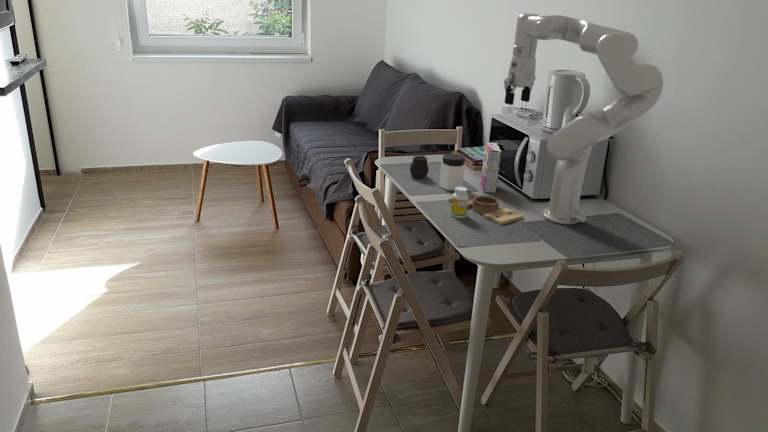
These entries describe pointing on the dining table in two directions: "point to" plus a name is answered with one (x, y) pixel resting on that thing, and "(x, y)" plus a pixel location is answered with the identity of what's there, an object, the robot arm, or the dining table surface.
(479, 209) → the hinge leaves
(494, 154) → the candy bar box
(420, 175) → the mate gourd
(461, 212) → the supplement bottle
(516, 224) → the dining table surface
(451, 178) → the jar
